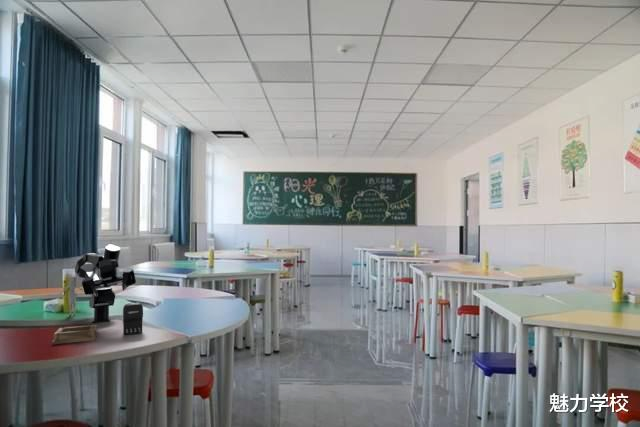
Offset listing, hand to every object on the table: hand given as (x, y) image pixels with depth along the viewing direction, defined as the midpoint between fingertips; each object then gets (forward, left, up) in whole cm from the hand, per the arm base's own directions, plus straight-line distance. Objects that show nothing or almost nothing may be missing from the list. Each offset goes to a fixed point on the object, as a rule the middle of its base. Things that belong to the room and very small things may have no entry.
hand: (110, 292), depth 155 cm
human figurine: (-43, -20, -16) cm, 50 cm away
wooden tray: (+4, -11, -15) cm, 19 cm away
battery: (+5, +8, -16) cm, 19 cm away
